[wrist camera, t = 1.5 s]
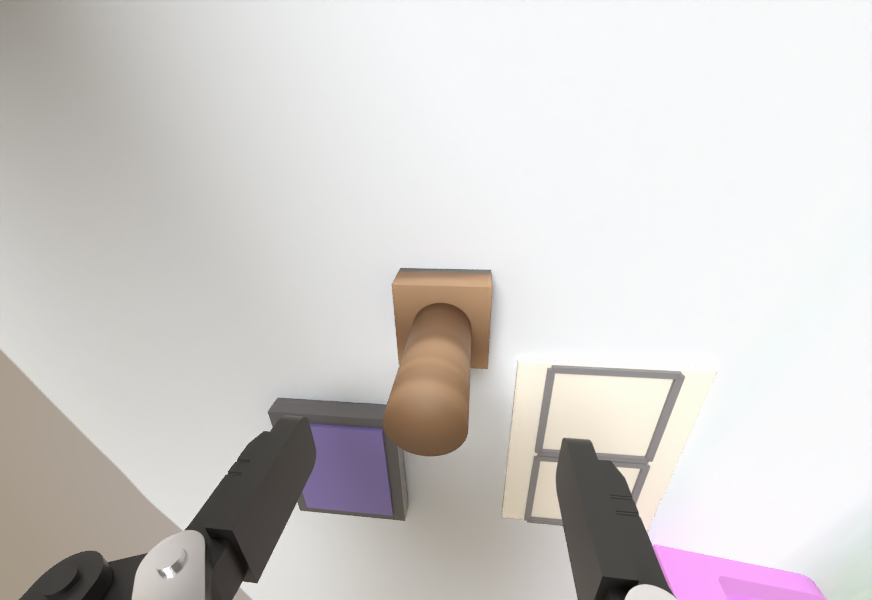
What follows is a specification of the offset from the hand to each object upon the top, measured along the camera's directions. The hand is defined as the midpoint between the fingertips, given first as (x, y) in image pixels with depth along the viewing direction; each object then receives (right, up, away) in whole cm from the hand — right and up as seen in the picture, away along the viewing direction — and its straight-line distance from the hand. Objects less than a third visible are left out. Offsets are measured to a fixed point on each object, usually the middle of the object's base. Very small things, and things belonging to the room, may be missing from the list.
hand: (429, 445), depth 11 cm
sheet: (+10, -5, +11) cm, 16 cm away
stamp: (+1, +4, +7) cm, 9 cm away
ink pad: (-6, -6, +14) cm, 16 cm away
